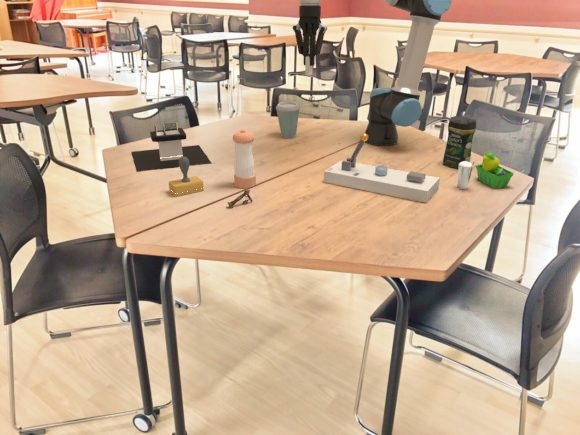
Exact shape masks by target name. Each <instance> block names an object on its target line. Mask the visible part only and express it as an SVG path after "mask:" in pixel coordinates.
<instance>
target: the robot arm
mask: <svg viewBox="0 0 580 435" xmlns="http://www.w3.org/2000/svg"><path fill="white" fill-rule="evenodd" d="M379 1H380V2H385V3H387V5H388V6H390V7H394V8H397V9H400V10H402V11H405V12H408V13H409V16H408V17H409V18H410V20H411V25H410V29H409V33H408V38H407V41H406V46H405V49H404V54H403V56H402V60H401V65H400V70H399V72H398V78H397V82H396V84H395V86H393V87H378V88H377V87H376V88H373V89H372V90H371V91H370V95H369V114H368V124H367V126H366V129H365V131H364V133H366V134H367V135H368V140H367V141H365V142H364V143H366V144H369V145H373V146H374V145H375V146H392V145H396V144H397V143H398V142H399V134H398V130H397V126H399V127H401V128H402V127H404V128H405V127H407V128H408V127H410V126H412V125H413V124H415V123H416V122H417V121H418V120H419V119H420V117H421V115H422V111H423V110H422V109H423V107H422V103H421V102H420V101H419V100H420V97H421V93H420V91H419V85H420V82H421V78H422V73H423V71H424V67H425V65H426V64H425V63H426V59H427V56H428V52H429V48H430V45H431V40H432V36H433V32H434V29H435V27H436V25H438V24H439V23H441V18H442V15H444V14H446V12H447V11H449V9H450V7H451V5H452V2H453V1H452V0H379ZM298 2H299V7H298V8H299V9H298V10H299V11H298V16H299V20H298V21H297V22H298V23H296V24H295V25H293V26H292V29H293V32H294V34H295V40H296V47H297V51H298V54H299V55H301V56H303V66H304V67H305V70H304V71H305V72H304V73H305V74H304V75H305V76H312V75H313V67H314V66H315V64H316V63H315V60H316V59H315V58H316V56H318V55H320V54H321V50H322V45H323V41H324V37H325V33H326V32H327V30H328V26H325V25H323V24H322V20H321V14H322V6H321V5H320V4H321V3H322V0H299V1H298ZM317 32H318V33H317Z"/></svg>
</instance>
